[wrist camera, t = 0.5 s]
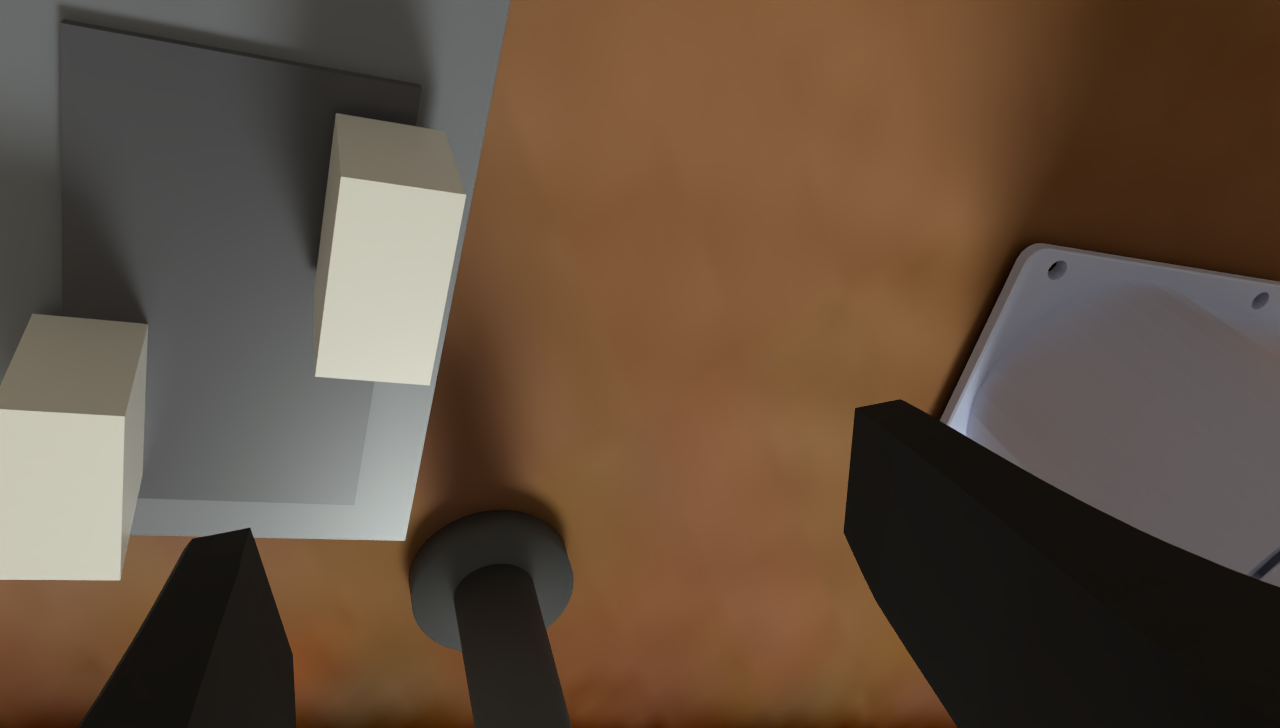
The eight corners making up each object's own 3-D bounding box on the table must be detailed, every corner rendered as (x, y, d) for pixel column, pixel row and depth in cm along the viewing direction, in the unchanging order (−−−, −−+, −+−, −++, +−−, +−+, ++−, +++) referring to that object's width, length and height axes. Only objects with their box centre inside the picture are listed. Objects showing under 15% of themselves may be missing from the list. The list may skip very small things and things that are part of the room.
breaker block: (517, -270, 16) (613, -262, 11) (392, 437, 23) (417, 646, 18) (18, -430, 14) (-147, -511, 9) (36, 417, 20) (-53, 654, 15)
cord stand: (582, 512, 26) (661, 741, 20) (548, 628, 27) (611, 867, 22) (422, 507, 24) (459, 751, 18) (398, 630, 26) (424, 886, 20)
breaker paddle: (445, 131, 15) (465, 194, 13) (414, 304, 17) (429, 385, 15) (335, 113, 15) (341, 176, 13) (313, 293, 16) (314, 376, 14)
